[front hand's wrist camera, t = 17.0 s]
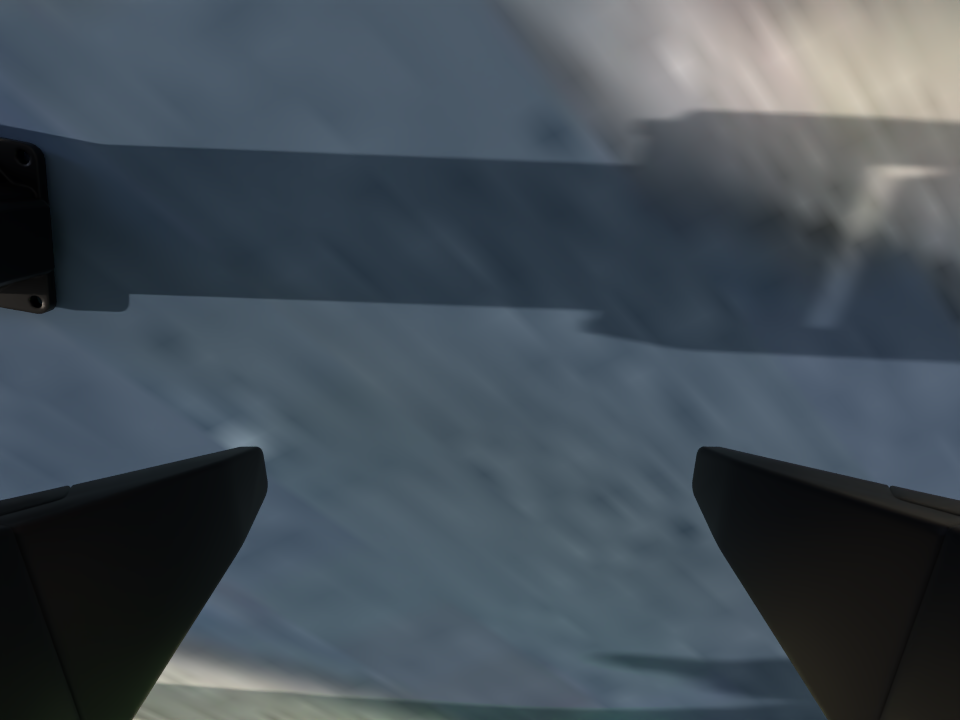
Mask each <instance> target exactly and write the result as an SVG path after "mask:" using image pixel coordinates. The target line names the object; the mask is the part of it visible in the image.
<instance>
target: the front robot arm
mask: <svg viewBox="0 0 960 720" xmlns="http://www.w3.org/2000/svg"><path fill="white" fill-rule="evenodd" d="M25 151H26V152H27V153H28V154H29V157H30V161H29V163H28V162H27V161H26V160H25V158H24V152H25ZM37 296H38V297H40V298H41V299H42V302H43V304H40V303H39V302H38V300H37ZM55 306H56V291H55V279H54V257H53V244H52V231H51V219H50V208H49V204H48V191H47V179H46V166H45V158H44V154H43V153H42V151H41V150H40V149H39V148H38V147H37V146H36V145H34V144H31V143H28V142H23V141H18V140H12V139H7V138H2V137H0V307H2V308H8V309H14V310H19V311H25V312H31V313H36V314H42V313H45V312H48V311H50V310H53V309H54V308H55ZM267 488H268V481H267V475H266V468H265V462H264V455H263V452H262V450H261V448H259V447H238V448H233V449H229V450H224V451H220V452H216V453H211V454H207V455H203V456H198V457H194V458H190V459H185V460H181V461H176V462H172V463H168V464H163V465H159V466H155V467H150V468H146V469H141V470H137V471H133V472H128V473H124V474H120V475H115V476H111V477H106V478H102V479H98V480H93V481H89V482H85V483H80V484H76V485H73V486H72V487H71V488H70V486H64V487H59V488H55V489H51V490H46V491H42V492H37V493H33V494H28V495H23V496H19V497H14V498H10V499H5V500H0V720H132V719H133V718H134V716H135V715H136V713H137V711H138V710H139V708H140V707H141V705H142V703H143V702H144V700H145V699H146V697H147V696H148V694H149V692H150V691H151V689H152V688H153V686H154V684H155V683H156V681H157V680H158V678H159V677H160V675H161V673H162V672H163V670H164V669H165V667H166V666H167V664H168V662H169V661H170V659H171V658H172V656H173V654H174V653H175V651H176V650H177V648H178V647H179V645H180V643H181V642H182V640H183V639H184V637H185V636H186V634H187V632H188V631H189V629H190V628H191V626H192V624H193V623H194V621H195V620H196V618H197V617H198V615H199V613H200V612H201V610H202V609H203V607H204V606H205V604H206V602H207V601H208V599H209V598H210V596H211V594H212V593H213V591H214V590H215V588H216V587H217V585H218V583H219V582H220V580H221V579H222V577H223V576H224V574H225V572H226V571H227V569H228V568H229V566H230V564H231V563H232V561H233V560H234V558H235V557H236V555H237V553H238V552H239V550H240V548H241V547H242V545H243V543H244V541H245V539H246V537H247V535H248V533H249V531H250V528H251V526H252V524H253V522H254V520H255V518H256V516H257V513H258V511H259V509H260V507H261V505H262V503H263V500H264V498H265V496H266V493H267ZM692 488H693V493H694V496H695V498H696V500H697V503H698V505H699V507H700V509H701V511H702V513H703V515H704V518H705V520H706V522H707V524H708V526H709V528H710V531H711V533H712V535H713V537H714V539H715V541H716V543H717V545H718V547H719V548H720V550H721V552H722V553H723V555H724V557H725V558H726V560H727V561H728V563H729V564H730V566H731V568H732V569H733V571H734V572H735V574H736V576H737V577H738V579H739V580H740V582H741V583H742V585H743V587H744V588H745V590H746V591H747V593H748V594H749V596H750V598H751V599H752V601H753V602H754V604H755V605H756V607H757V609H758V610H759V612H760V613H761V615H762V617H763V618H764V620H765V621H766V623H767V624H768V626H769V628H770V629H771V631H772V632H773V634H774V635H775V637H776V639H777V640H778V642H779V643H780V645H781V647H782V648H783V650H784V651H785V653H786V654H787V656H788V658H789V659H790V661H791V662H792V664H793V666H794V667H795V669H796V670H797V672H798V673H799V675H800V677H801V678H802V680H803V681H804V683H805V684H806V686H807V688H808V689H809V691H810V692H811V694H812V696H813V697H814V699H815V700H816V702H817V703H818V705H819V707H820V708H821V710H822V711H823V713H824V714H825V716H826V718H827V719H828V720H960V500H955V499H950V498H946V497H941V496H937V495H932V494H927V493H923V492H918V491H914V490H909V489H905V488H901V487H896V486H890V488H889V487H888V486H887V485H884V484H880V483H876V482H871V481H867V480H862V479H858V478H854V477H849V476H845V475H841V474H836V473H832V472H827V471H823V470H819V469H814V468H810V467H806V466H801V465H797V464H792V463H788V462H784V461H779V460H775V459H771V458H766V457H762V456H757V455H753V454H749V453H744V452H740V451H736V450H731V449H727V448H722V447H701V448H699V450H698V452H697V455H696V462H695V468H694V475H693V481H692Z"/></svg>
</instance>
